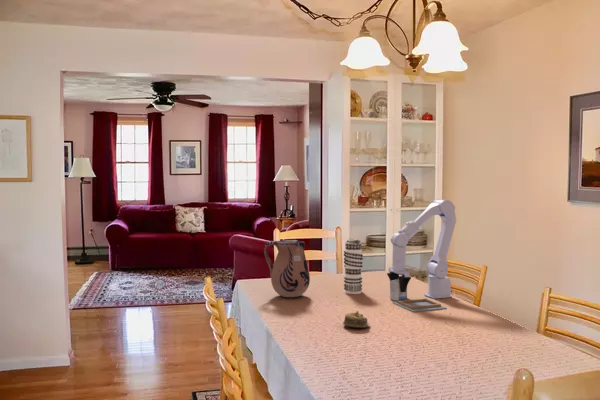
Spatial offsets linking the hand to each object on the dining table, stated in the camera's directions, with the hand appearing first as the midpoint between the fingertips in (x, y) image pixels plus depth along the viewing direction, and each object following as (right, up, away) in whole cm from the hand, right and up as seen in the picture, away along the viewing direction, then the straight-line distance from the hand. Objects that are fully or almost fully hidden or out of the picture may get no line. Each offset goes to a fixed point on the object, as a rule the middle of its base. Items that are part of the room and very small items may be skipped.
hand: (398, 290), depth 231 cm
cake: (-23, -6, -40) cm, 47 cm away
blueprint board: (+6, -5, -12) cm, 15 cm away
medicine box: (0, -4, 0) cm, 4 cm away
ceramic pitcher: (-50, -4, +6) cm, 51 cm away
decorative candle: (-19, -3, +14) cm, 24 cm away
